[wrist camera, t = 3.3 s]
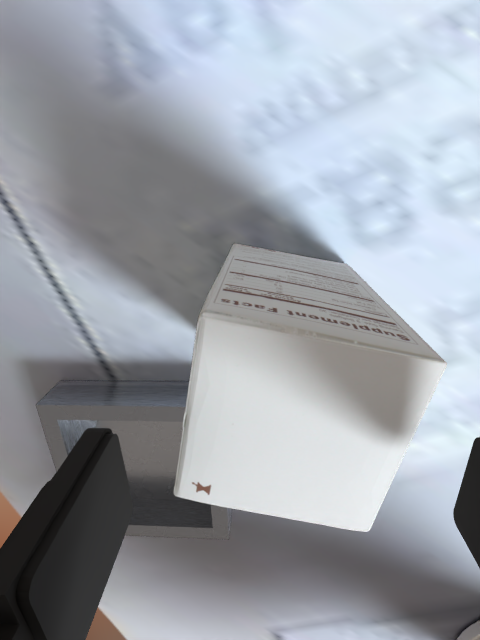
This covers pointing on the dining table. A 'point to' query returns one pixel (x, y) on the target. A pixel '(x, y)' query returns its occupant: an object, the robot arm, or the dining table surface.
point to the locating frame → (136, 449)
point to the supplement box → (300, 392)
